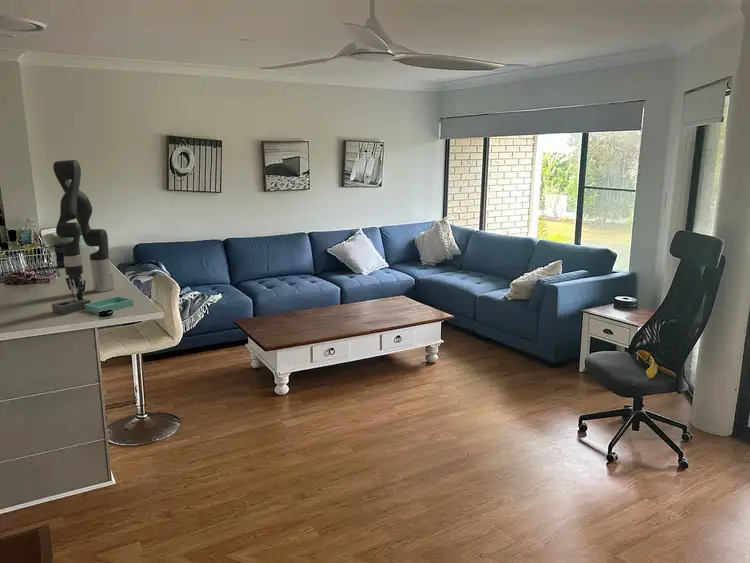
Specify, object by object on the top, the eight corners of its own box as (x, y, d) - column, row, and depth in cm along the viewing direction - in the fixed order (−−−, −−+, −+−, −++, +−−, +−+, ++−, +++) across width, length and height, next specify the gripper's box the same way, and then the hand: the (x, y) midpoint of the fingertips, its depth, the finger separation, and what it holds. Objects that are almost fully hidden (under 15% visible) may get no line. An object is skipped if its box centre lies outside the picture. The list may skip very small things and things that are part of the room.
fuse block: (80, 305, 296) (79, 297, 296) (91, 308, 292) (90, 300, 291) (52, 312, 285) (51, 304, 284) (63, 315, 280) (61, 306, 279)
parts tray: (119, 302, 302) (118, 296, 301) (133, 305, 295) (133, 299, 295) (85, 310, 287) (84, 304, 287) (99, 314, 281) (98, 308, 280)
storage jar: (57, 266, 391) (54, 243, 387) (74, 264, 395) (71, 242, 391) (56, 268, 382) (53, 245, 378) (73, 267, 386) (70, 244, 382)
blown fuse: (80, 303, 293) (77, 284, 291) (84, 305, 291) (81, 284, 289) (73, 305, 290) (70, 285, 288) (77, 306, 289) (74, 286, 286)
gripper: (89, 264, 285) (93, 299, 289) (72, 261, 293) (77, 295, 297) (73, 267, 279) (78, 303, 283) (57, 264, 287) (62, 299, 291)
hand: (78, 299), depth 290 cm, fingers closed on blown fuse, 3 cm apart
